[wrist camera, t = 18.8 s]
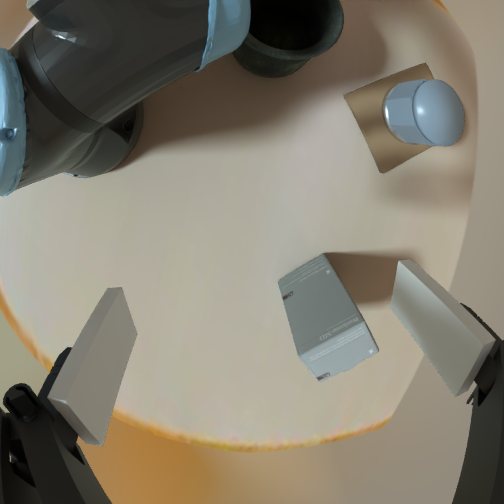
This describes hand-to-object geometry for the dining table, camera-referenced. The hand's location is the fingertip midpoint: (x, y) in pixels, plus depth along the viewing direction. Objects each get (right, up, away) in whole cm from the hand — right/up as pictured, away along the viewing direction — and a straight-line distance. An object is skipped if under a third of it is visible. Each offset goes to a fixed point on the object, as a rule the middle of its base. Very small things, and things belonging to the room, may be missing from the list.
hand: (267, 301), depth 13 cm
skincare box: (+8, -3, +30) cm, 32 cm away
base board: (+21, +22, +21) cm, 37 cm away
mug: (+2, +30, +16) cm, 34 cm away
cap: (+21, +21, +19) cm, 36 cm away
